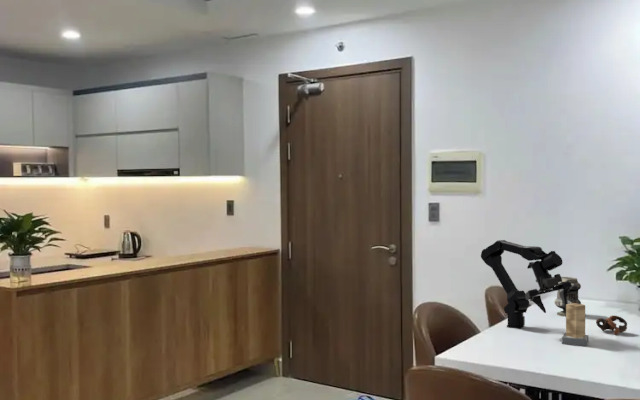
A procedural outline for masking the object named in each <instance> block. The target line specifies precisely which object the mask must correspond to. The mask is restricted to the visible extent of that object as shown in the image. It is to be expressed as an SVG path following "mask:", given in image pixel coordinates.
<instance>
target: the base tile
mask: <svg viewBox="0 0 640 400" xmlns="http://www.w3.org/2000/svg"><path fill="white" fill-rule="evenodd" d="M589 336H590V335H589V334H585V337H580V338H574V337H570V336H566V332H565V333H564V334H563V335H562V337H561V344H562V345H570V346H579V347H580V346H582V347H587V346H588V344H589V342H590V337H589Z"/></svg>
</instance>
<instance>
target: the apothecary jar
mask: <svg viewBox="0 0 640 400" xmlns="http://www.w3.org/2000/svg"><path fill="white" fill-rule="evenodd" d="M561 278H562V282H565V281H569V282H571V284H572V287H571V288H570V290H568V292H567V304H572V303H577V304H582V302H581V300H580V299H579V290H580V289H581V287H582V285H581V284H580V283H579V281H578V278H577V277H573V276H561ZM558 283H559V284H560V283H561V282H558ZM559 293H560V291H559V290H557V293H556V298H555V300H554V301H553V303H554V305H555V306H556V308H559V309H562V310H560V311H558V312H556V315H558V316H562V317H566V308H565V306H564V304H563V302H562V299H561V297H560V295H559Z"/></svg>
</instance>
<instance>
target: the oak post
mask: <svg viewBox="0 0 640 400" xmlns="http://www.w3.org/2000/svg"><path fill="white" fill-rule="evenodd" d="M565 333H566V336H570V337H574V338H580V337H585V335H586V304H582V303H581V304H577V303H572V304H566V316H565Z"/></svg>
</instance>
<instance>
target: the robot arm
mask: <svg viewBox="0 0 640 400" xmlns="http://www.w3.org/2000/svg"><path fill="white" fill-rule="evenodd" d="M505 251H506V252H508V253H513V254H515V255H518V256H521V258H523V259H524V260H527V261H531V262H529V263H528V265H527V269H532V271H533V272H532V273H533V275H534V277H535V282H536V283H537V284H538V287H539V289H537V288H533V289H529V290H527V291H526V292H525V291H524V290H519V289H518V288H517V287H516V285H515V283H514V281H513V280H512V278H511V276H510V275H509V273H508V272H507V270H506V268H505V266H504V264H503V262H502V255H503V254H504V252H505ZM480 253H481V254H480V258H481V259H482V262H484V264H485V265H487V266H488V267H489V268H491V269H492V271H493V273H494V275H495V277H497V279H498V281H499V282H500V285H501V286H502V288H503V290H504V291H505V293H506V301H507V304H506V305H505V307H504V308H503V309H504V310H503V311H504V313H505V314H507V325H506V327H507V328H514V329H515V328H517V329H523V328H524V327H525V322H526V317H525V315H524V313H527V310H528V309H529V305H530V302H533V303H534V304H535V305H536V306H537V307H538V308H539V309H540V310H541V311H542V312H543V313H544V314H546V313H547V311H546V307H545V306H544V305H545V304H544V303H543V301H542V297H541V295H544V294H548V293H552V292H555V291H557V290H559V291H560V293H559V295H560V297H561V299H562V302H563V304H564V306H565V308H566V304H567V292H568V290H570V288H571V287H572V284H571V282H569V281H565V282H562V278H561V277H562V276H561V274H560V273H557V274H554V276H553V275H552V274H551V273H550V272H549V271H552V270H555V269H556V268H559V267H560V266H562V265H563V259H562V257H561V256H560V255H559V254H557V253H556V251H555V250H551V251H549V252H548V253H546V252H545V251H543V247H540V246H529V245H528V246H527V245H523V244H518V243H514V242H511V241H507V240H505V239H502V240H501V239H500V240H496V241H495V242H494V243H492V244H490V245H489V246H486V248H483V249H482V250H481V252H480ZM533 261H534V262H533ZM558 282H561V283H560V284H559V283H558Z"/></svg>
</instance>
